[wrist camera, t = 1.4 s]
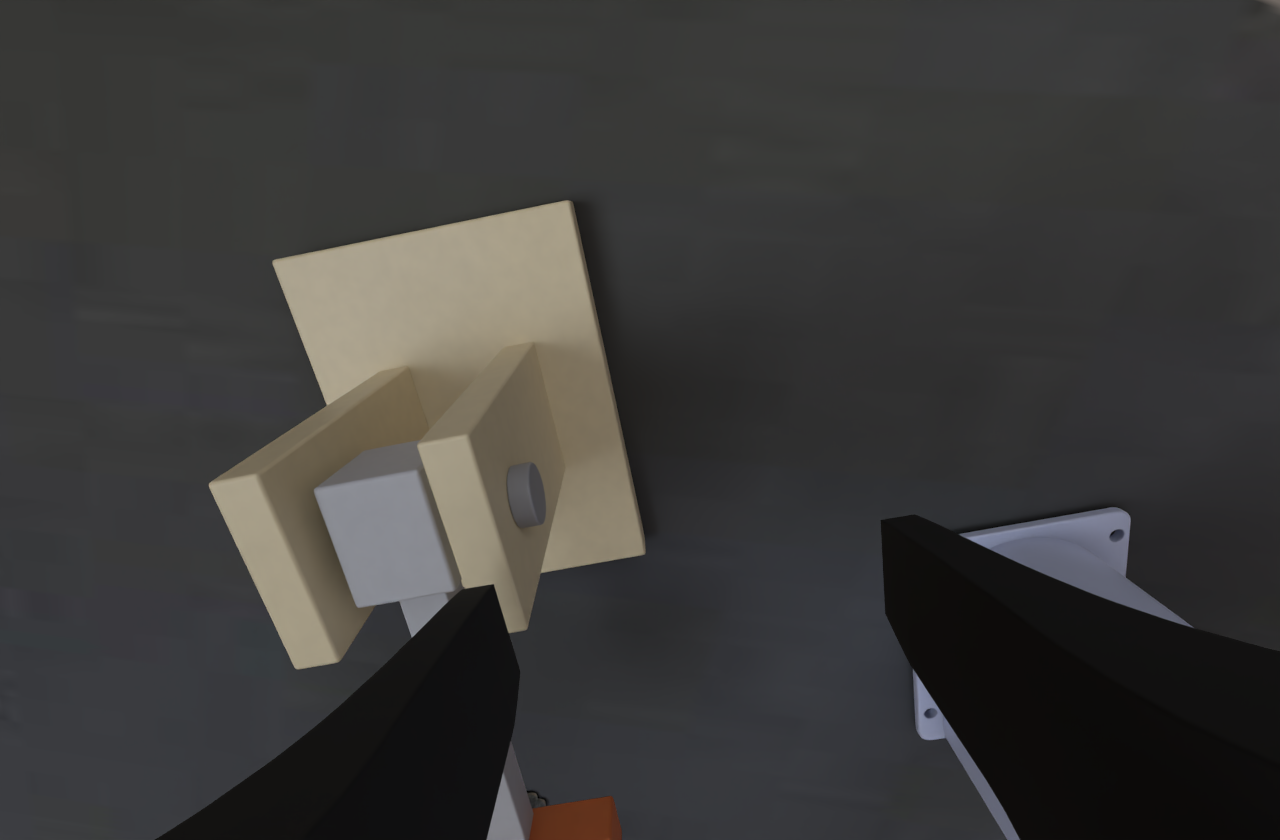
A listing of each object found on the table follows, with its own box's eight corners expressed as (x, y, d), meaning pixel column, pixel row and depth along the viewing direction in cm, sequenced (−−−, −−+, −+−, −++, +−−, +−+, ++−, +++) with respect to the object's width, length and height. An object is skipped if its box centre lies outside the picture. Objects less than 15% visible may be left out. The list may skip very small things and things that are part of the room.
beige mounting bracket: (645, 537, 22) (657, 753, 14) (411, 579, 23) (273, 816, 14) (573, 200, 18) (522, 191, 10) (291, 257, 19) (-8, 300, 10)
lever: (622, 812, 17) (620, 899, 15) (438, 842, 18) (409, 932, 15) (521, 420, 14) (499, 454, 12) (296, 462, 14) (231, 504, 12)
